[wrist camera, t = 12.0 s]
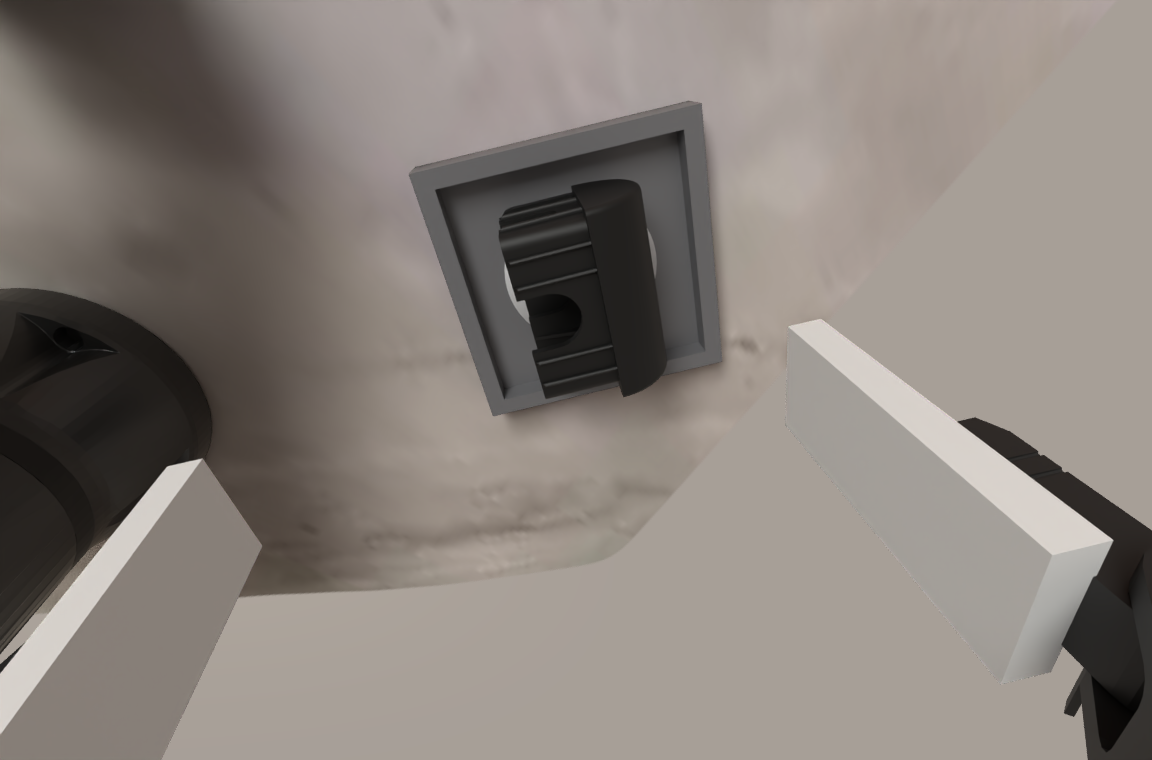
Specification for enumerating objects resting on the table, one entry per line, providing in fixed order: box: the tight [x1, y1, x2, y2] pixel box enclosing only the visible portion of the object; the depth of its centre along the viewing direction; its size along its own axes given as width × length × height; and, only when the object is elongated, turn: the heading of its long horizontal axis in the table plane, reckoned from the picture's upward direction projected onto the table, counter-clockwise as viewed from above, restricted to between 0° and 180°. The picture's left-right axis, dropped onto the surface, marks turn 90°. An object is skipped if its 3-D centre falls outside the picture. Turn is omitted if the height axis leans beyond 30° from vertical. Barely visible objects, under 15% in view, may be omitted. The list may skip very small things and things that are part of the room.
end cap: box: [499, 179, 667, 399], centre depth 29 cm, size 10×7×7 cm
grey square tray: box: [409, 101, 722, 416], centre depth 32 cm, size 15×15×2 cm
